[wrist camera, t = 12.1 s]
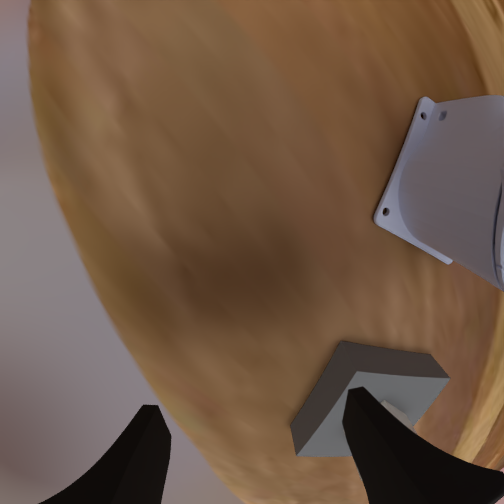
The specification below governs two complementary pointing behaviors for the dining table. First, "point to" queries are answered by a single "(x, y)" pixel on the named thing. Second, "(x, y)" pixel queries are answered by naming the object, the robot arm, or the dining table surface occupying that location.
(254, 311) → the dining table surface
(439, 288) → the dining table surface
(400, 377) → the base block
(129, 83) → the dining table surface
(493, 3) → the dining table surface
